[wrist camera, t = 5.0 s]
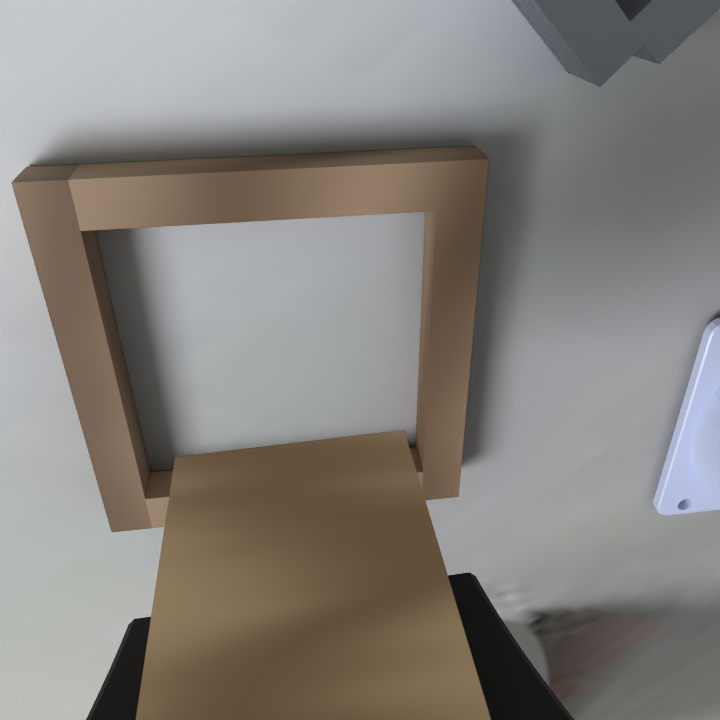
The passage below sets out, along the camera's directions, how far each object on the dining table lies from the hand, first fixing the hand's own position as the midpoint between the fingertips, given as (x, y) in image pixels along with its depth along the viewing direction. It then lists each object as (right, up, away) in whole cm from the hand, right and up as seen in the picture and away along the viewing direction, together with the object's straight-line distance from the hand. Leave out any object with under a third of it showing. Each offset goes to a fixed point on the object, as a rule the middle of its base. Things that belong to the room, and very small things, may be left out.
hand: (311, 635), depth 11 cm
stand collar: (-2, +5, +8) cm, 10 cm away
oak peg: (0, +1, +2) cm, 2 cm away
